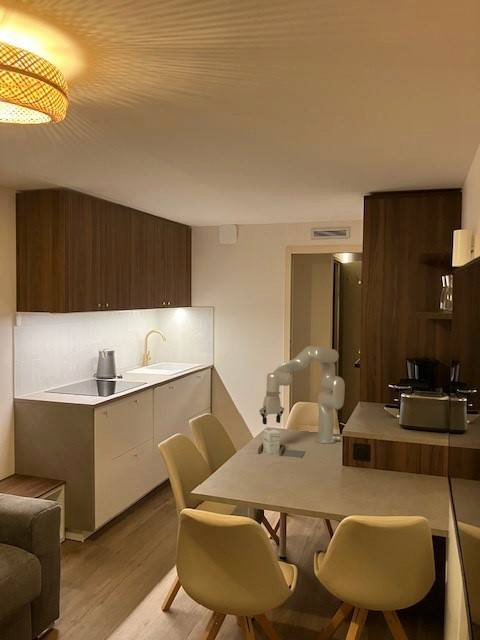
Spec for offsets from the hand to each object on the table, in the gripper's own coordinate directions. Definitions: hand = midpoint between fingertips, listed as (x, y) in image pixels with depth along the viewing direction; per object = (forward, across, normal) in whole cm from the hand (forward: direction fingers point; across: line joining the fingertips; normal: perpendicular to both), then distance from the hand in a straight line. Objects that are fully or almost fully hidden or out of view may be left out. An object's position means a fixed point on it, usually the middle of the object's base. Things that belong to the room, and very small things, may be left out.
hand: (271, 423), depth 312 cm
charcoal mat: (+17, -10, +10) cm, 22 cm away
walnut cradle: (+17, -1, 0) cm, 17 cm away
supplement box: (+17, -1, 0) cm, 17 cm away
